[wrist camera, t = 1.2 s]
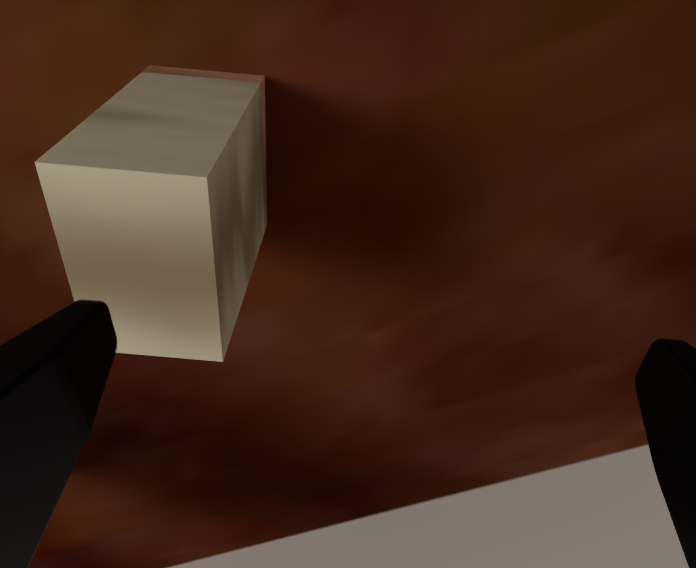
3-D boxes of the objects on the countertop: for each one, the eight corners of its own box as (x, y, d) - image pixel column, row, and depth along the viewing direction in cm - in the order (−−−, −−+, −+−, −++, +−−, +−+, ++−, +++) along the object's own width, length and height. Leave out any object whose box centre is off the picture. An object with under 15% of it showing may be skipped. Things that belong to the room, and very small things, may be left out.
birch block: (267, 224, 23) (222, 362, 16) (170, 215, 23) (88, 350, 16) (264, 75, 19) (206, 177, 13) (150, 65, 19) (34, 162, 13)
